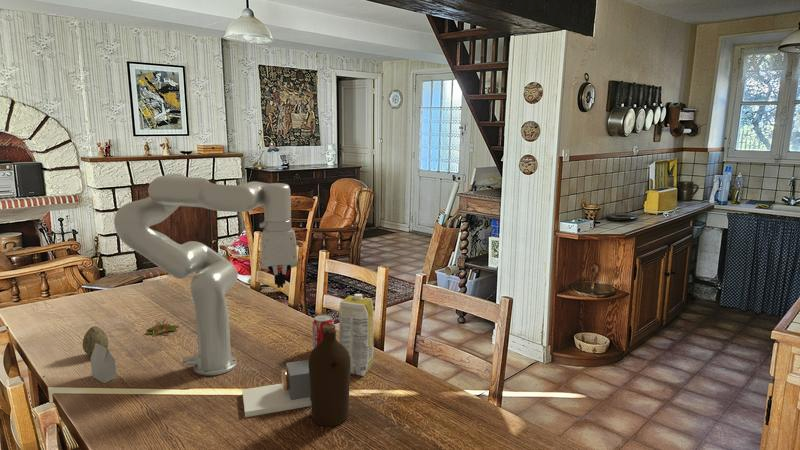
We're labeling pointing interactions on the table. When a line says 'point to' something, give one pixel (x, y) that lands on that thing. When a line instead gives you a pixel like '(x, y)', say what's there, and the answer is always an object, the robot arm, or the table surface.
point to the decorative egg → (94, 339)
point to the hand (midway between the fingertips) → (280, 286)
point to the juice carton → (357, 332)
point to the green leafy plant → (161, 327)
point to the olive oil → (329, 380)
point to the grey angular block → (103, 364)
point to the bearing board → (280, 393)
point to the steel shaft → (285, 380)
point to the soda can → (320, 327)
